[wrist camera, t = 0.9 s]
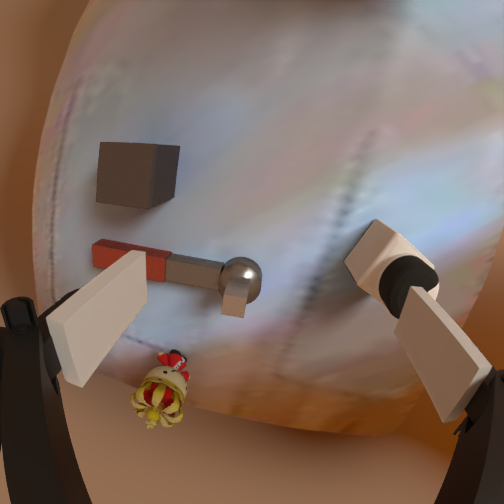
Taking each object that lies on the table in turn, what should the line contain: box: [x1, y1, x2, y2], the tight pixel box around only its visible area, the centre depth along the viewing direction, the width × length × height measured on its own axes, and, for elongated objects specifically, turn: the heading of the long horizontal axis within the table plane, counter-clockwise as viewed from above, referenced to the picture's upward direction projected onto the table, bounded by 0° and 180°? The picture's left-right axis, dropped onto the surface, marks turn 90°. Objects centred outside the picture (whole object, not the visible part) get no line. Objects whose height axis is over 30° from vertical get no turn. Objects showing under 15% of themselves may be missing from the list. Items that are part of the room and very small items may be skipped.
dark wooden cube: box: [96, 142, 180, 209], centre depth 30 cm, size 6×6×8 cm
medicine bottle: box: [344, 219, 439, 319], centre depth 29 cm, size 7×7×12 cm
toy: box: [130, 350, 190, 429], centre depth 35 cm, size 7×7×15 cm
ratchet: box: [92, 239, 262, 318], centre depth 34 cm, size 23×5×8 cm, turn 81°
